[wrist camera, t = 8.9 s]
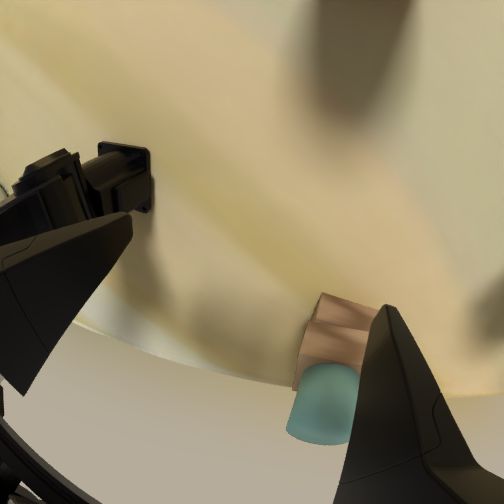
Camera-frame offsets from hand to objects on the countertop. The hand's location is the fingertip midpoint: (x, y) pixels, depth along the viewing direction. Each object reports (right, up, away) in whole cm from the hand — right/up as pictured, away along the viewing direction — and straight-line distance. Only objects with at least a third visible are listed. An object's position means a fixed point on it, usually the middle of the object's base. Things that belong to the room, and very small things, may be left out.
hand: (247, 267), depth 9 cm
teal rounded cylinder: (+7, -10, +12) cm, 17 cm away
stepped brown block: (+8, -8, +15) cm, 18 cm away
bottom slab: (+9, -6, +17) cm, 21 cm away
